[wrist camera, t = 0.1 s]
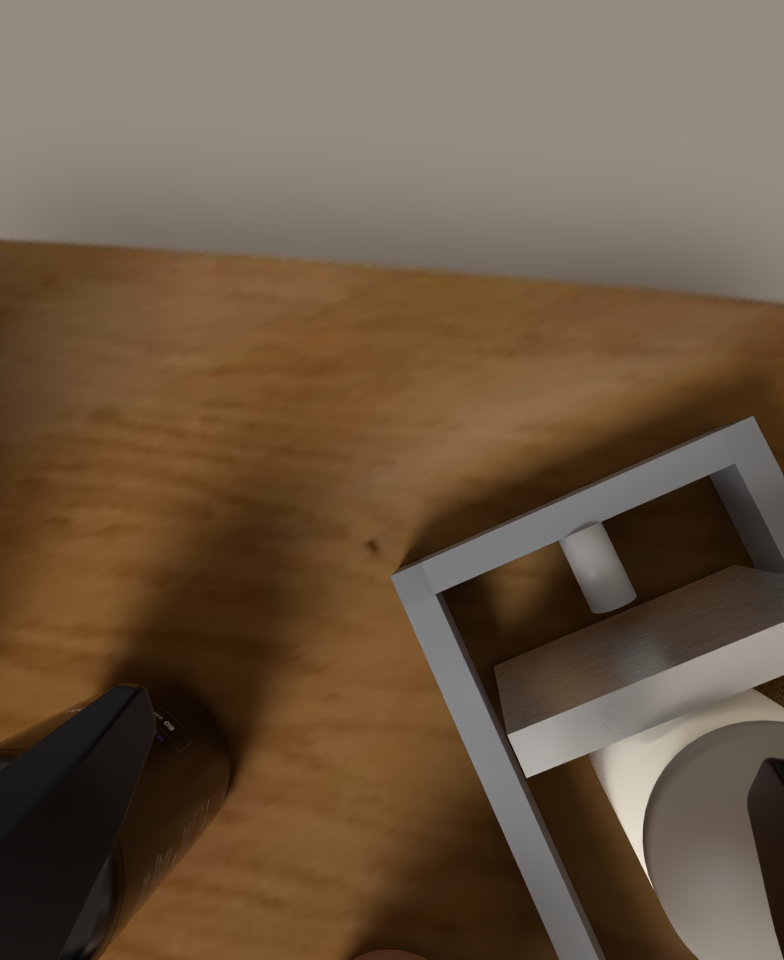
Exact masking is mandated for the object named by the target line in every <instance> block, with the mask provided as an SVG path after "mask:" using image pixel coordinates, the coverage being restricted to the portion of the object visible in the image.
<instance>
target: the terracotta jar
mask: <svg viewBox="0 0 784 960" xmlns="http://www.w3.org/2000/svg"><path fill="white" fill-rule="evenodd" d="M353 960H428V959H426V958H424V957H422V956H419V955H417V954H414V953H411V952H407V951H403V950H395V949H383V950H377V951H372V952H368V953H365V954H363V955H361V956H358V957H356V958H354V959H353Z"/></svg>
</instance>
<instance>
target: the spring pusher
mask: <svg viewBox="0 0 784 960" xmlns="http://www.w3.org/2000/svg"><path fill="white" fill-rule="evenodd" d="M494 670H495V675H496V680H497V685H498V690H499V695H500V700H501V706H502V711H503V716H504V721H505V726H506V731H507V736H508V738H509V740H510V742H511V745H512V747H513V749H514V751H515V753H516V756H517V758H518V760H519V762H520V765H521V767H522V769H523V771H524V774H525V776H526V778H528V777H531V776H533V775H536V774H538V773H541V772H543V771H546V770H548V769H551V768H553V767H556V766H558V765H561V764H563V763H566V762H568V761H571V760H573V759H576V758H578V757H581V756H583V755H586V754H588V753H591V752H593V751H596V750H598V749H600V748H603V747H605V746H608V745H610V744H613V743H615V742H618V741H620V740H623V739H625V738H628V737H630V736H633V735H635V734H638V733H640V732H643V731H645V730H648V729H650V728H653V727H655V726H658V725H660V724H663V723H665V722H668V721H670V720H673V719H675V718H678V717H680V716H683V715H685V714H688V713H690V712H693V711H695V710H698V709H700V708H703V707H705V706H708V705H710V704H713V703H715V702H718V701H720V700H723V699H725V698H728V697H730V696H733V695H735V694H738V693H740V692H743V691H745V690H748V689H750V688H753V687H755V686H758V685H760V684H763V683H765V682H768V681H770V680H773V679H775V678H778V677H780V676H783V675H784V575H782V574H777V573H772V572H768V571H763V570H758V569H753V568H749V567H744V566H739V565H733V566H730V567H728V568H726V569H723V570H721V571H719V572H716V573H714V574H711V575H709V576H707V577H704V578H702V579H700V580H697V581H695V582H692V583H690V584H688V585H685V586H683V587H681V588H678V589H676V590H673V591H671V592H669V593H666V594H664V595H662V596H659V597H657V598H654V599H652V600H650V601H647V602H645V603H643V604H640V605H638V606H635V607H633V608H631V609H628V610H626V611H624V612H621V613H619V614H616V615H614V616H612V617H609V618H607V619H605V620H602V621H600V622H597V623H595V624H593V625H590V626H588V627H585V628H583V629H581V630H578V631H576V632H574V633H571V634H569V635H566V636H564V637H562V638H559V639H557V640H555V641H552V642H550V643H547V644H545V645H543V646H540V647H538V648H536V649H533V650H531V651H528V652H526V653H524V654H521V655H519V656H517V657H514V658H512V659H509V660H507V661H505V662H502V663H500V664H498V665H495V666H494Z"/></svg>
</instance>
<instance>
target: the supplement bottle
mask: <svg viewBox="0 0 784 960" xmlns="http://www.w3.org/2000/svg"><path fill="white" fill-rule="evenodd" d="M121 684H132V685H141V686H144V687H145V688H146V689H147V691H148V694H149V698H150V701H151V705H152V708H153V711H154V715H155V718H156V732H155V736H154V739H153V741H152V744H151V747H150V750H149V752H148V755H147V758H146V760H145V763H144V766H143V769H142V771H141V774H140V777H139V780H138V782H137V785H136V788H135V790H134V793H133V796H132V799H131V801H130V804H129V807H128V809H127V812H126V815H125V818H124V820H123V823H122V825H121V828H120V830H119V833H118V835H117V838H116V840H115V842H114V844H113V846H112V849H111V851H110V853H109V855H108V857H107V859H106V861H105V863H104V866H103V868H102V870H101V872H100V874H99V876H98V878H97V880H96V882H95V884H94V886H93V888H92V890H91V893H90V895H89V897H88V899H87V901H86V903H85V905H84V907H83V909H82V911H81V913H80V915H79V918H78V920H77V922H76V924H75V926H74V928H73V930H72V932H71V934H70V936H69V938H68V940H67V942H66V945H65V947H64V949H63V951H62V953H61V955H60V957H59V959H58V960H98V959H99V958H100V957H101V956H102V954H103V953H104V952H105V951H106V950H107V948H108V947H109V946H110V945H111V944H112V942H113V941H114V940H115V939H116V938H117V936H118V935H119V934H120V933H121V932H122V930H123V929H124V928H125V927H126V925H127V924H128V923H129V922H130V921H131V919H132V918H133V917H134V916H135V915H136V913H137V912H138V911H139V910H140V909H141V907H142V906H143V905H144V904H145V903H146V901H147V900H148V899H149V898H150V897H151V895H152V894H153V893H154V892H155V891H156V889H157V888H158V887H159V886H160V885H161V883H162V882H163V881H164V880H165V879H166V877H167V876H168V875H169V874H170V872H171V871H172V870H173V869H174V868H175V866H176V865H177V864H178V863H179V862H180V860H181V859H182V858H183V857H184V856H185V854H186V853H187V852H188V851H189V850H190V848H191V847H192V846H193V845H194V844H195V842H196V841H197V840H198V839H199V837H200V836H201V835H202V834H203V832H204V831H205V830H206V828H207V827H208V826H209V825H210V823H211V822H212V821H213V819H214V818H215V816H216V814H217V813H218V811H219V810H220V808H221V805H222V803H223V801H224V798H225V796H226V793H227V789H228V785H229V779H230V770H231V760H230V751H229V746H228V741H227V738H226V735H225V732H224V730H223V727H222V725H221V723H220V721H219V719H218V718H217V716H216V715H215V713H214V712H213V710H212V709H211V708H210V706H209V705H208V704H207V703H206V702H205V701H204V700H203V699H202V698H201V697H199V696H198V695H197V694H196V693H194V692H193V691H191V690H190V689H188V688H186V687H185V686H182V685H180V684H178V683H175V682H172V681H169V680H165V679H158V678H141V679H135V680H130V681H127V682H124V683H121ZM110 689H111V688H109V689H107V690H105V691H103V692H101V693H99V694H97V695H95V696H92V697H90V698H88V699H86V700H84V701H82V702H80V703H78V704H76V705H74V706H72V707H70V708H68V709H66V710H64V711H62V712H60V713H58V714H56V715H54V716H52V717H50V718H48V719H46V720H44V721H42V722H40V723H38V724H36V725H34V726H32V727H30V728H28V729H26V730H24V731H22V732H20V733H18V734H16V735H14V736H12V737H10V738H8V739H6V740H4V741H2V742H0V770H1V769H2V768H3V767H5V766H6V765H8V764H9V763H10V762H12V761H13V760H14V759H16V758H17V757H18V756H20V755H21V754H23V753H24V752H25V751H27V750H28V749H29V748H31V747H32V746H33V745H35V744H36V743H37V742H39V741H40V740H42V739H43V738H44V737H46V736H47V735H48V734H50V733H51V732H52V731H54V730H55V729H57V728H58V727H59V726H61V725H62V724H63V723H65V722H66V721H67V720H69V719H70V718H71V717H73V716H74V715H76V714H77V713H78V712H80V711H81V710H82V709H84V708H85V707H86V706H88V705H89V704H91V703H92V702H93V701H95V700H96V699H97V698H99V697H100V696H101V695H103V694H104V693H106V692H107V691H108V690H110Z"/></svg>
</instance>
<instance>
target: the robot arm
mask: <svg viewBox="0 0 784 960" xmlns="http://www.w3.org/2000/svg"><path fill="white" fill-rule="evenodd" d="M155 732H156V718H155V715H154V711H153V708H152V705H151V701H150V698H149V694H148V691H147V689H146V688H145V687H144V686H141V685H132V684H118V685H116V686H114V687H112V688H111V689H110V690H108V691H107V692H106V693H104V694H103V695H101V696H100V697H99V698H97V699H96V700H95V701H93V702H92V703H91V704H89V705H88V706H86V707H85V708H84V709H82V710H81V711H80V712H78V713H77V714H76V715H74V716H73V717H71V718H70V719H69V720H67V721H66V722H65V723H63V724H62V725H61V726H59V727H58V728H57V729H55V730H54V731H52V732H51V733H50V734H48V735H47V736H46V737H44V738H43V739H42V740H40V741H39V742H37V743H36V744H35V745H33V746H32V747H31V748H29V749H28V750H27V751H25V752H24V753H23V754H21V755H20V756H18V757H17V758H16V759H14V760H13V761H12V762H10V763H9V764H8V765H6V766H5V767H3V768H2V769H1V770H0V960H58V959H59V957H60V955H61V953H62V951H63V949H64V947H65V945H66V942H67V940H68V938H69V936H70V934H71V932H72V930H73V928H74V926H75V924H76V922H77V920H78V918H79V915H80V913H81V911H82V909H83V907H84V905H85V903H86V901H87V899H88V897H89V895H90V893H91V890H92V888H93V886H94V884H95V882H96V880H97V878H98V876H99V874H100V872H101V870H102V868H103V866H104V863H105V861H106V859H107V857H108V855H109V853H110V851H111V849H112V846H113V844H114V842H115V840H116V838H117V835H118V833H119V830H120V828H121V825H122V823H123V820H124V818H125V815H126V812H127V809H128V807H129V804H130V801H131V799H132V796H133V793H134V790H135V788H136V785H137V782H138V780H139V777H140V774H141V771H142V769H143V766H144V763H145V760H146V758H147V755H148V752H149V750H150V747H151V744H152V741H153V739H154V736H155ZM747 809H748V815H749V819H750V824H751V828H752V833H753V837H754V842H755V846H756V851H757V855H758V860H759V864H760V869H761V873H762V878H763V882H764V887H765V891H766V896H767V900H768V905H769V909H770V914H771V918H772V922H773V926H774V930H775V934H776V937H777V940H778V944H779V947H780V950H781V953H782V957H783V960H784V759H782V758H774V757H768V758H766V759H765V760H763V762H762V763H761V765H760V767H759V770H758V772H757V774H756V776H755V778H754V780H753V782H752V784H751V786H750V789H749V791H748V794H747Z"/></svg>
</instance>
